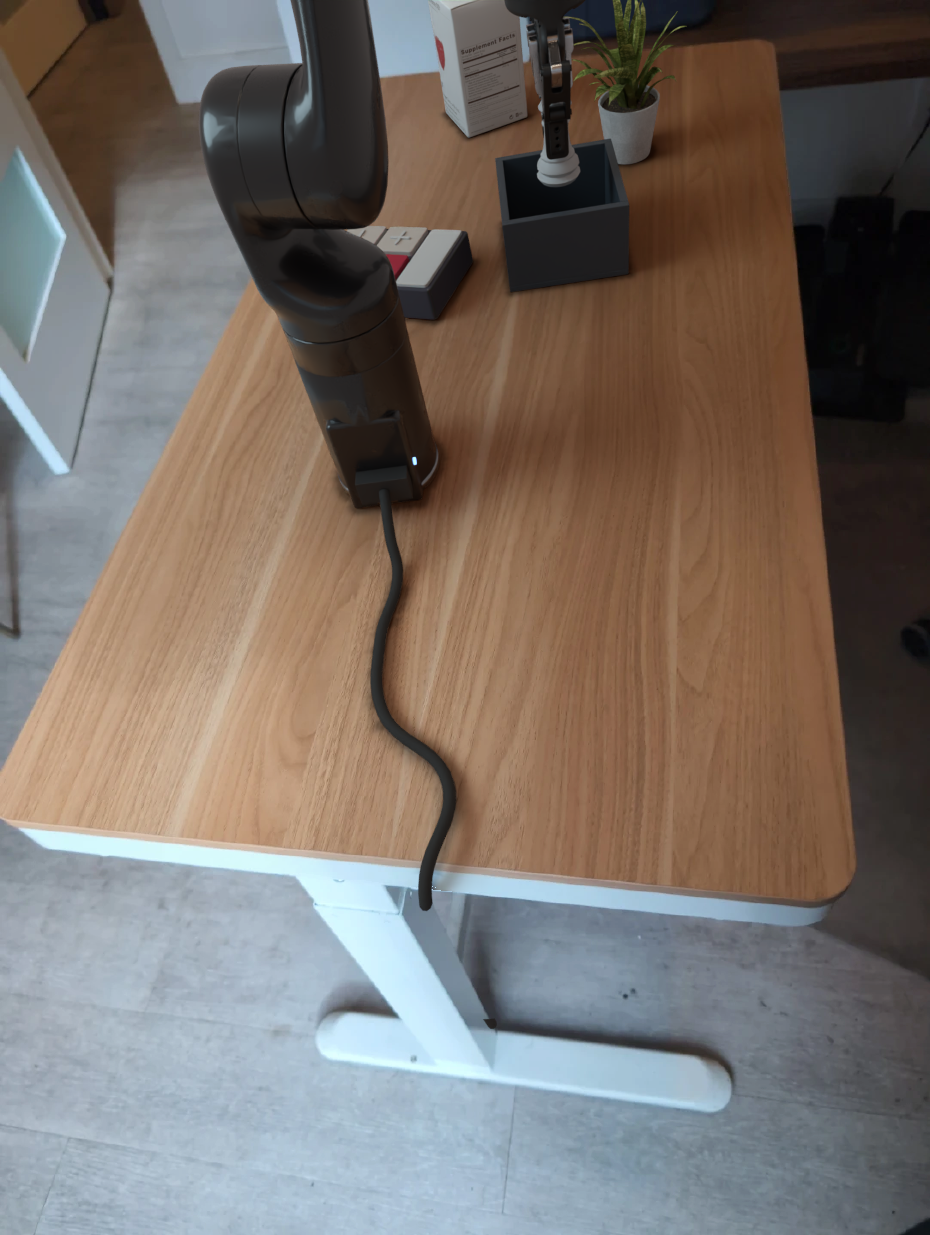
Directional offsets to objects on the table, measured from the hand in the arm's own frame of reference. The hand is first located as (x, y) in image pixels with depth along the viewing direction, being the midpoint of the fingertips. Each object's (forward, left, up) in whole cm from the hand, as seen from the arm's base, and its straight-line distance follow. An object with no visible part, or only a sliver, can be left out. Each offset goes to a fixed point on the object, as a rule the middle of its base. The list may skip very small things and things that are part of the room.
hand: (555, 146), depth 84 cm
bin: (0, 0, -11) cm, 11 cm away
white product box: (+34, +7, -11) cm, 36 cm away
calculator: (-2, +19, -11) cm, 22 cm away
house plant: (+19, -9, -11) cm, 24 cm away
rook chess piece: (0, 0, -3) cm, 3 cm away
